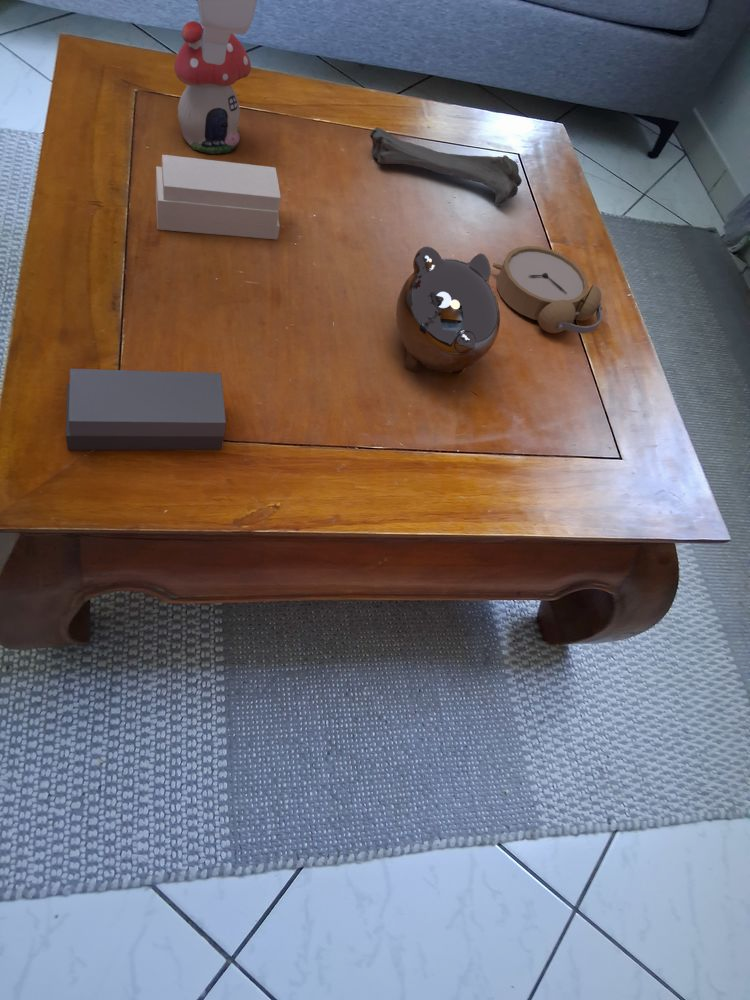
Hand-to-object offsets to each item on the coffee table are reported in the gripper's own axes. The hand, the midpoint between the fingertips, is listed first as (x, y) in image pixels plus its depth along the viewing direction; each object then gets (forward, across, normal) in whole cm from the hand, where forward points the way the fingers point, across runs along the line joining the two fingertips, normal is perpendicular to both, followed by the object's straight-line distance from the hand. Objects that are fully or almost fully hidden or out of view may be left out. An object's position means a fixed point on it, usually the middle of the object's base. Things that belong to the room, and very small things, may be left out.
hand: (207, 28), depth 65 cm
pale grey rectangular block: (+22, -8, +4) cm, 24 cm away
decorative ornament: (+26, -23, +4) cm, 35 cm away
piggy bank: (+26, +12, +27) cm, 39 cm away
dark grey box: (+26, +22, -5) cm, 35 cm away
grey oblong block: (+26, -8, +4) cm, 28 cm away
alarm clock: (+25, +3, +45) cm, 52 cm away
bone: (+25, -20, +36) cm, 49 cm away
